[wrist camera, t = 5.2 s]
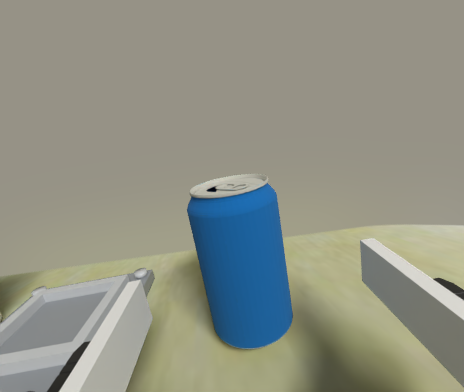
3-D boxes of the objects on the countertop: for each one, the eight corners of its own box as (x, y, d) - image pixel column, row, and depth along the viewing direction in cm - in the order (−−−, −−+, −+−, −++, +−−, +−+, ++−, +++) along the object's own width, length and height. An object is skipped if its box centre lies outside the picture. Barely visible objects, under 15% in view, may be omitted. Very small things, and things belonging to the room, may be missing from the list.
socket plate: (-104, 434, 17) (-122, 409, 16) (41, 298, 30) (35, 283, 30) (100, 396, 17) (90, 370, 16) (154, 278, 30) (150, 262, 30)
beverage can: (247, 289, 25) (226, 173, 22) (308, 313, 20) (291, 171, 17) (199, 332, 20) (164, 194, 17) (263, 375, 16) (231, 200, 13)
